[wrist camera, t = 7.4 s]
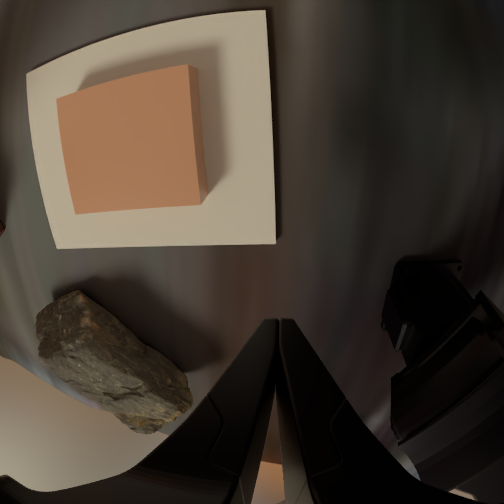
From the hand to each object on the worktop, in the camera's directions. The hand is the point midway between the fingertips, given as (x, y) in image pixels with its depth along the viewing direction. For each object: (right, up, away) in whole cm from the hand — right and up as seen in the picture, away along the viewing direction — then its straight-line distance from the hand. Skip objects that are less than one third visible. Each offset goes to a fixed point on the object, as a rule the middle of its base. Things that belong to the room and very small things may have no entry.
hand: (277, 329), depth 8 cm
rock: (-13, -6, +18) cm, 23 cm away
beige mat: (-9, +9, +9) cm, 16 cm away
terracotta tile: (-4, +9, +7) cm, 12 cm away
